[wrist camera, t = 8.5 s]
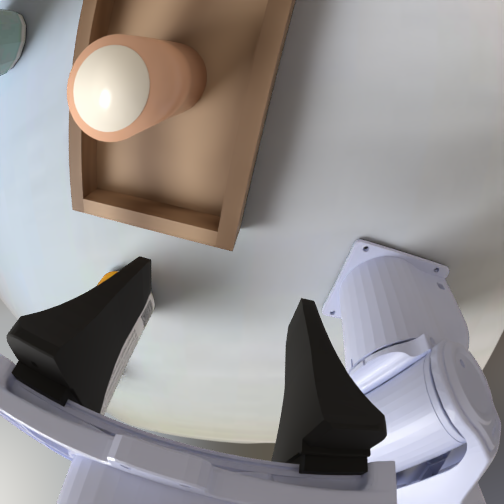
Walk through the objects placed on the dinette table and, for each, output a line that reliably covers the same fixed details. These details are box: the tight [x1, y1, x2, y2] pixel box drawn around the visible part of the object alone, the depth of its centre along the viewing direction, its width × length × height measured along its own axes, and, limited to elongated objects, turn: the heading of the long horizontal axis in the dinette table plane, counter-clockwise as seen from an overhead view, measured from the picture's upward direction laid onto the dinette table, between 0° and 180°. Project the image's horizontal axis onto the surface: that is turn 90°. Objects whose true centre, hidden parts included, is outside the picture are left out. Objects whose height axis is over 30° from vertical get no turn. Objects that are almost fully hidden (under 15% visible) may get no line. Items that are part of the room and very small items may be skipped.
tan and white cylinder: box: [67, 34, 207, 142], centre depth 13 cm, size 5×5×7 cm
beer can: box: [97, 271, 155, 415], centre depth 22 cm, size 6×6×15 cm
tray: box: [69, 0, 296, 251], centre depth 16 cm, size 13×20×3 cm, turn 168°
